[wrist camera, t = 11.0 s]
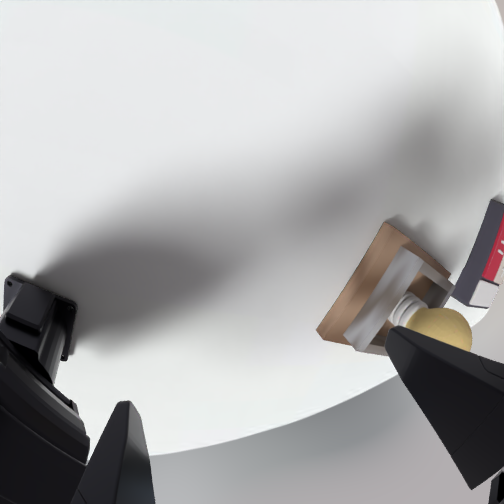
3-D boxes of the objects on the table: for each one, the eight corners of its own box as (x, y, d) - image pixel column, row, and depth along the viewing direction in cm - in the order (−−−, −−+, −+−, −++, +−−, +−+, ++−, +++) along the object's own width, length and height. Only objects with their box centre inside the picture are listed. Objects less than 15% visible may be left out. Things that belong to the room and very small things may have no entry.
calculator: (524, 226, 30) (491, 311, 34) (505, 218, 34) (473, 299, 38) (509, 205, 26) (469, 309, 30) (485, 196, 30) (448, 295, 34)
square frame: (390, 346, 33) (408, 366, 30) (315, 330, 27) (336, 357, 24) (442, 268, 30) (465, 283, 27) (384, 221, 24) (414, 238, 21)
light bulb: (401, 267, 25) (477, 325, 17) (426, 288, 28) (488, 338, 19) (362, 321, 27) (426, 390, 18) (392, 333, 29) (447, 391, 21)
